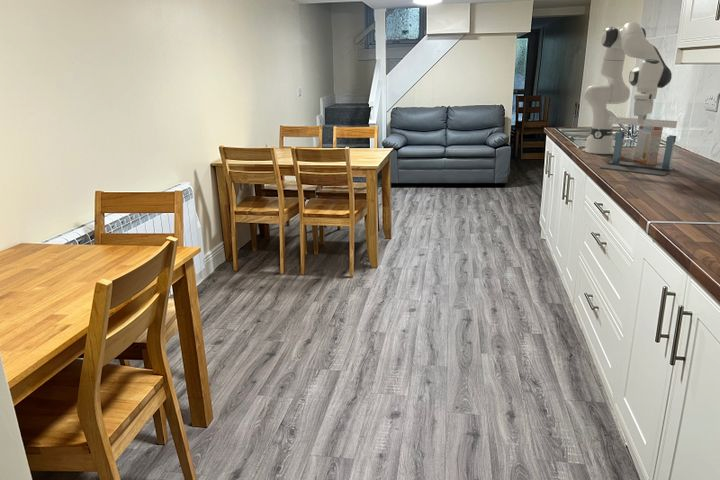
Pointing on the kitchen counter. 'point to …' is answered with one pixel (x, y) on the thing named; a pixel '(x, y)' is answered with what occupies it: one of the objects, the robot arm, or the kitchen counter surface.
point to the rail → (645, 122)
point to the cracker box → (648, 144)
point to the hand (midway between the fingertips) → (641, 124)
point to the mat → (634, 170)
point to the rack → (616, 161)
